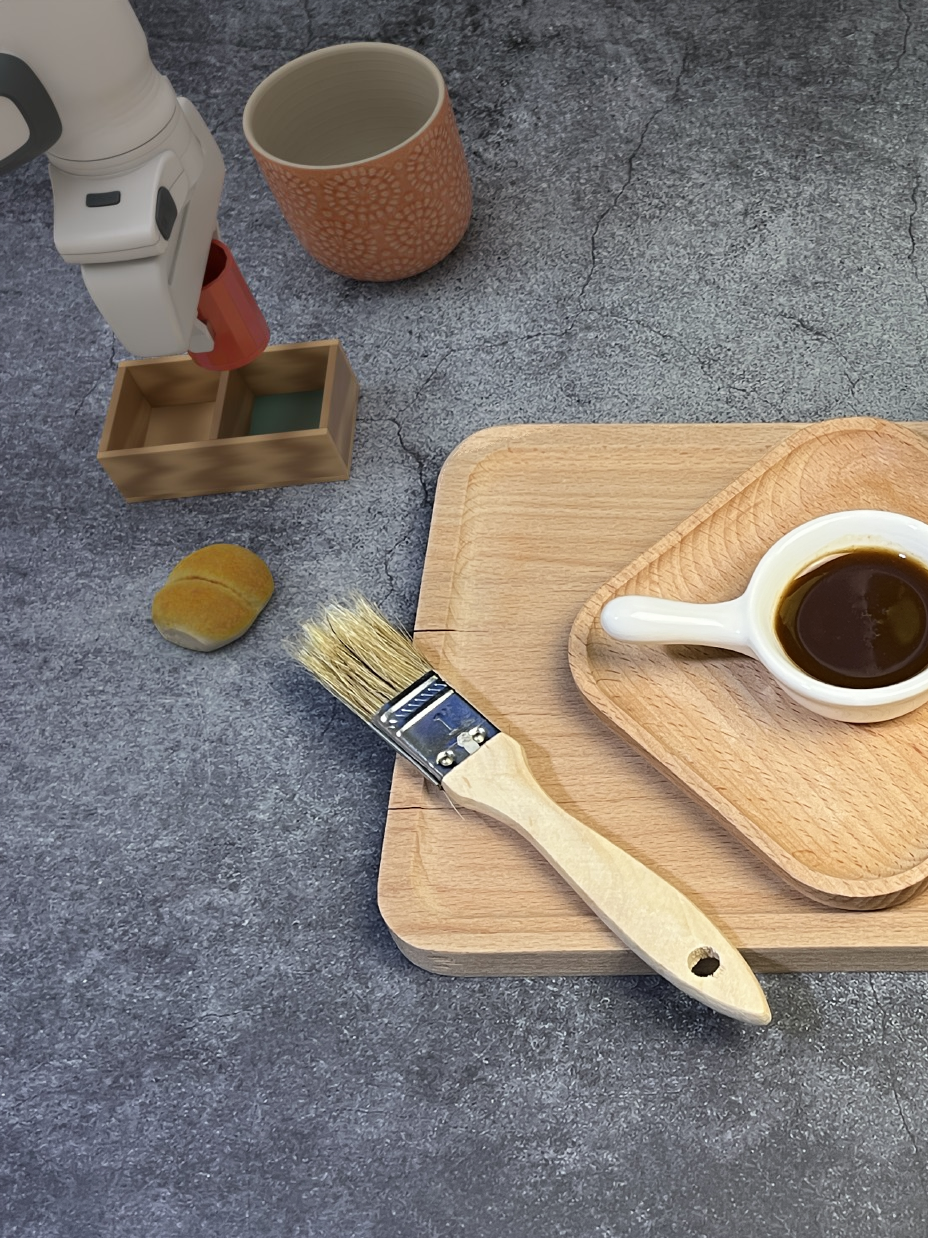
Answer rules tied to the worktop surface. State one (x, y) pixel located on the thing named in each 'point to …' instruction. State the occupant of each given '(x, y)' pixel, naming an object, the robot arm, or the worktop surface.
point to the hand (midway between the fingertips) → (211, 309)
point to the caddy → (231, 423)
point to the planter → (363, 158)
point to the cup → (229, 314)
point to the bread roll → (212, 597)
